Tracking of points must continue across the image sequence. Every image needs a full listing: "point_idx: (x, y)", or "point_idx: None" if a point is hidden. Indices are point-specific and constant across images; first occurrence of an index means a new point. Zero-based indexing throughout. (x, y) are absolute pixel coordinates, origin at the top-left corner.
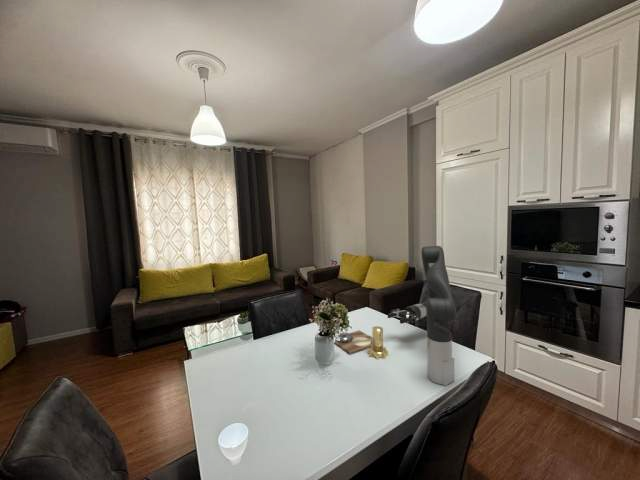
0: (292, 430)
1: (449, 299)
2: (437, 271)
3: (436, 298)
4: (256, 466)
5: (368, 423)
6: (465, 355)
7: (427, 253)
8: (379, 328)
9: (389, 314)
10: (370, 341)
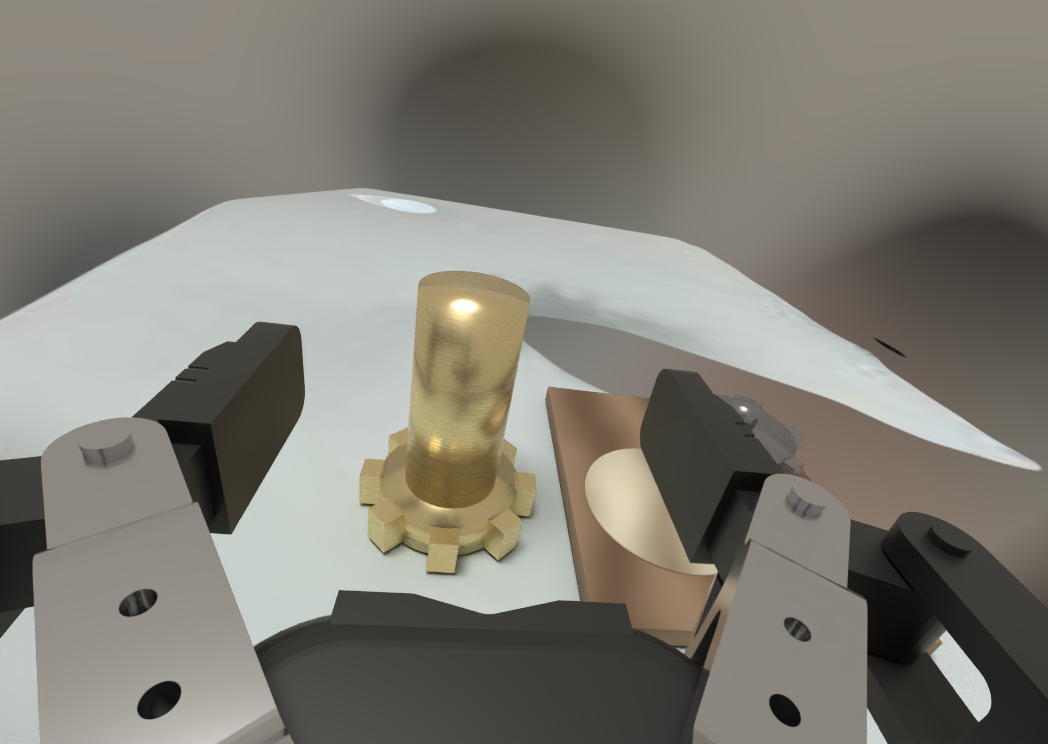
0: (335, 220)
1: None
2: None
3: None
4: (319, 195)
5: (175, 254)
6: None
7: None
8: (460, 294)
9: (670, 384)
10: (637, 551)
